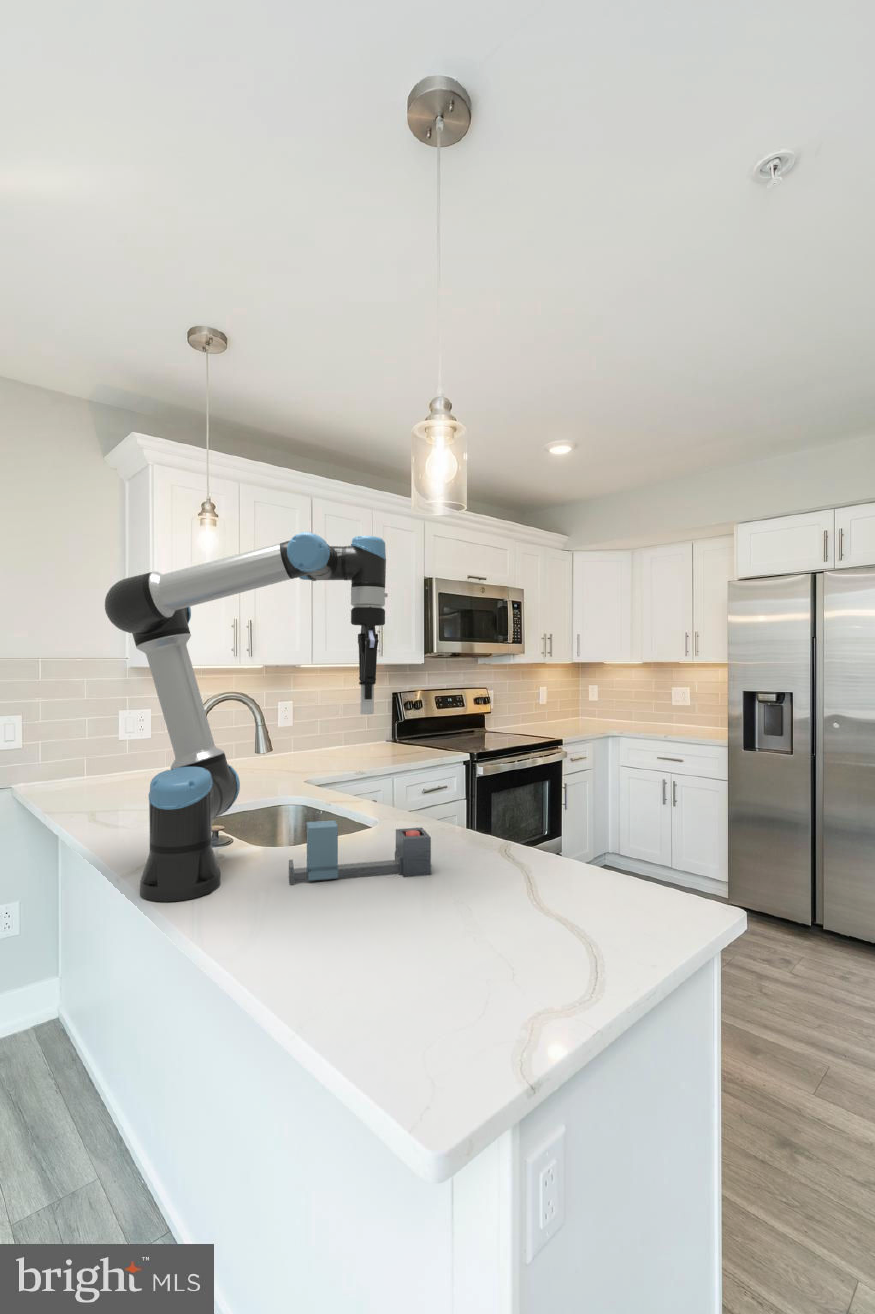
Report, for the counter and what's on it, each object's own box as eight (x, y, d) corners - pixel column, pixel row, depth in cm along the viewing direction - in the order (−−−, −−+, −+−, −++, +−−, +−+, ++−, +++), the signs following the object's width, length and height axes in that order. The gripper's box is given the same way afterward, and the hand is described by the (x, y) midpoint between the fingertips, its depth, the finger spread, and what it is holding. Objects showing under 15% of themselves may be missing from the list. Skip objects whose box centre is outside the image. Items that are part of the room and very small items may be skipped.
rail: (289, 885, 131) (289, 867, 131) (288, 876, 135) (288, 859, 135) (403, 874, 137) (403, 857, 137) (398, 867, 142) (398, 850, 142)
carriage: (308, 880, 132) (308, 828, 132) (306, 872, 136) (306, 822, 136) (337, 878, 133) (337, 826, 133) (335, 870, 138) (335, 820, 138)
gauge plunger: (407, 862, 138) (407, 834, 138) (404, 858, 141) (404, 830, 141) (421, 861, 139) (421, 833, 139) (417, 856, 142) (417, 829, 142)
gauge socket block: (403, 877, 135) (403, 839, 135) (395, 865, 143) (395, 829, 143) (430, 874, 137) (430, 837, 137) (421, 862, 145) (421, 827, 145)
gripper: (390, 605, 137) (389, 716, 137) (379, 609, 149) (378, 711, 149) (355, 604, 135) (354, 717, 135) (347, 608, 147) (346, 711, 147)
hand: (367, 713), depth 142 cm, fingers closed
